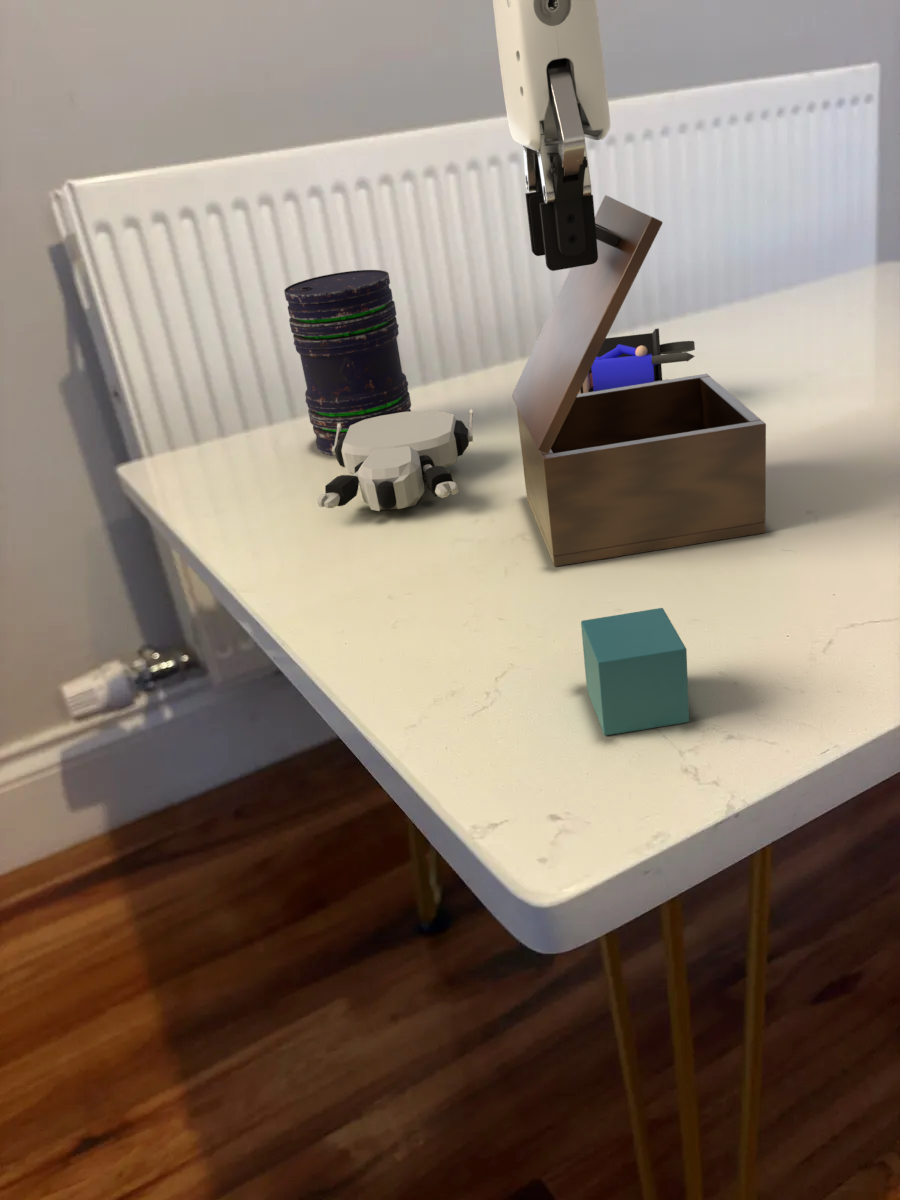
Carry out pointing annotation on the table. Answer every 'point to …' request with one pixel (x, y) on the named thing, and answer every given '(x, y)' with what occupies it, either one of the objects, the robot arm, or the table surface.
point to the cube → (635, 671)
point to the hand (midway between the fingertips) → (563, 256)
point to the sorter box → (648, 471)
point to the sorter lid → (582, 320)
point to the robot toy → (397, 459)
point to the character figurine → (633, 361)
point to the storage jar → (347, 350)
